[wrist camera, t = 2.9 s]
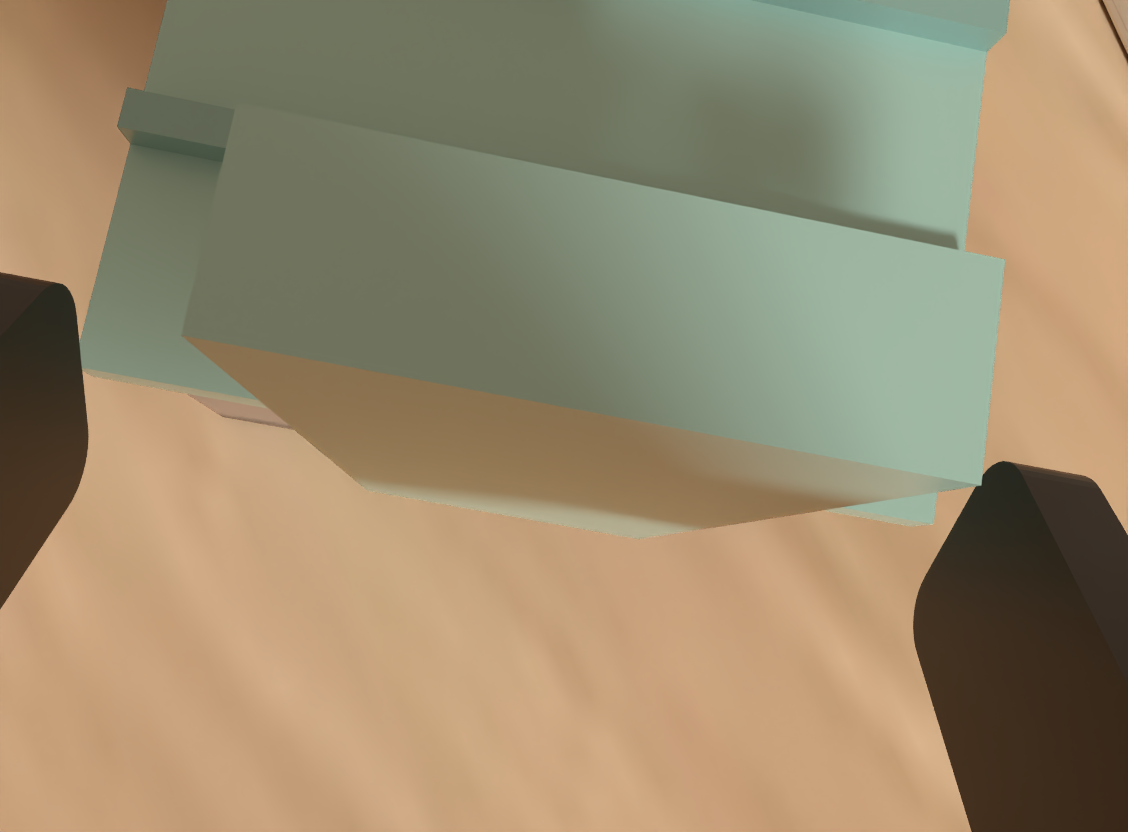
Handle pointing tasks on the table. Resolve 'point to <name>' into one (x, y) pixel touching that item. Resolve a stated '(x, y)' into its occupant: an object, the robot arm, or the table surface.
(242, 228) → the lid
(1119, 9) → the supplement box
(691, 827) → the table surface
